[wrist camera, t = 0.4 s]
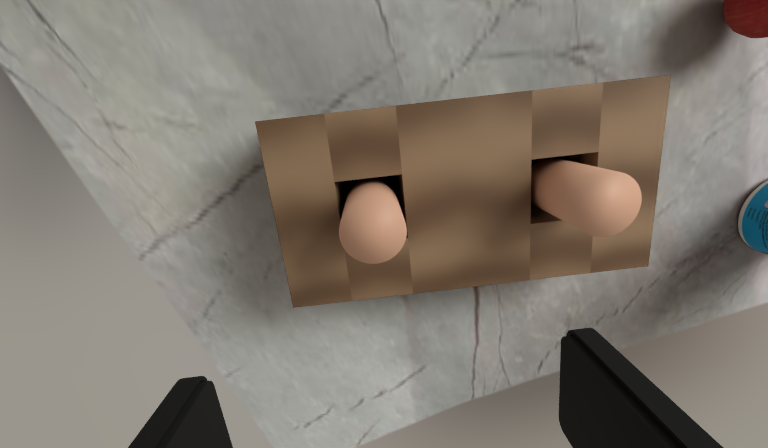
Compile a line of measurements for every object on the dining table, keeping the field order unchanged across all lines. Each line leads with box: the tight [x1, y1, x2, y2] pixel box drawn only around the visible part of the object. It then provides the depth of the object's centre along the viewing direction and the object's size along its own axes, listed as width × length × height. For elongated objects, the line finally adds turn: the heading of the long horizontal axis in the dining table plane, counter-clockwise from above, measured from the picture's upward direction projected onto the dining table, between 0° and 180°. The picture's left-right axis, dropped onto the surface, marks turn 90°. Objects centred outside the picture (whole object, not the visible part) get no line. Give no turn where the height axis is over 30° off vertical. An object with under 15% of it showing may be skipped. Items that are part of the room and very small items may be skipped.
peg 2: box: [531, 157, 642, 237], centre depth 25 cm, size 4×4×8 cm
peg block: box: [255, 75, 671, 308], centre depth 30 cm, size 14×28×8 cm, turn 96°
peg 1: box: [339, 178, 407, 264], centre depth 24 cm, size 4×4×8 cm
